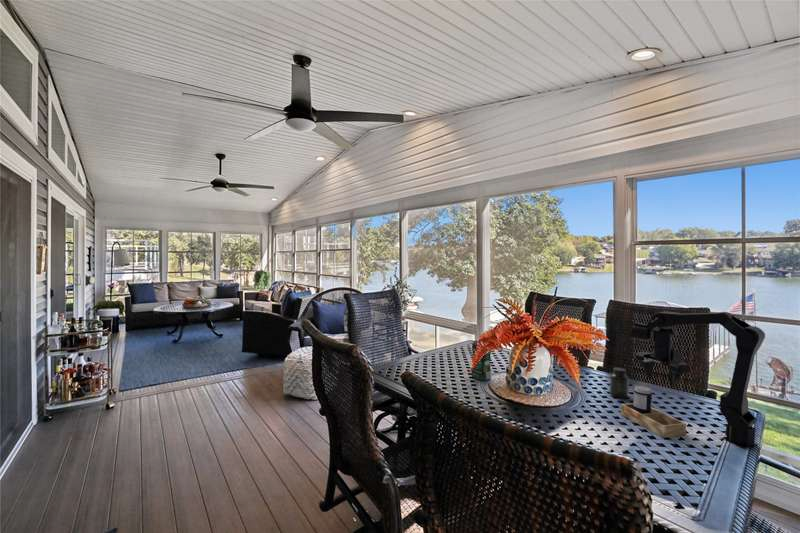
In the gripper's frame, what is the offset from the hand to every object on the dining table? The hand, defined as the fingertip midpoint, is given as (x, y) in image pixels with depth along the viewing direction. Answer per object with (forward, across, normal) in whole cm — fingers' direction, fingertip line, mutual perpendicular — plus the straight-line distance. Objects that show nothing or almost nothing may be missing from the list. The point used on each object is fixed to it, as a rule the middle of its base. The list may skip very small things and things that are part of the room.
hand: (660, 383), depth 143 cm
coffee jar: (+12, +54, +50) cm, 75 cm away
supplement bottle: (+13, +20, 0) cm, 24 cm away
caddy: (+13, -5, +10) cm, 17 cm away
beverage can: (+13, -1, +10) cm, 16 cm away
